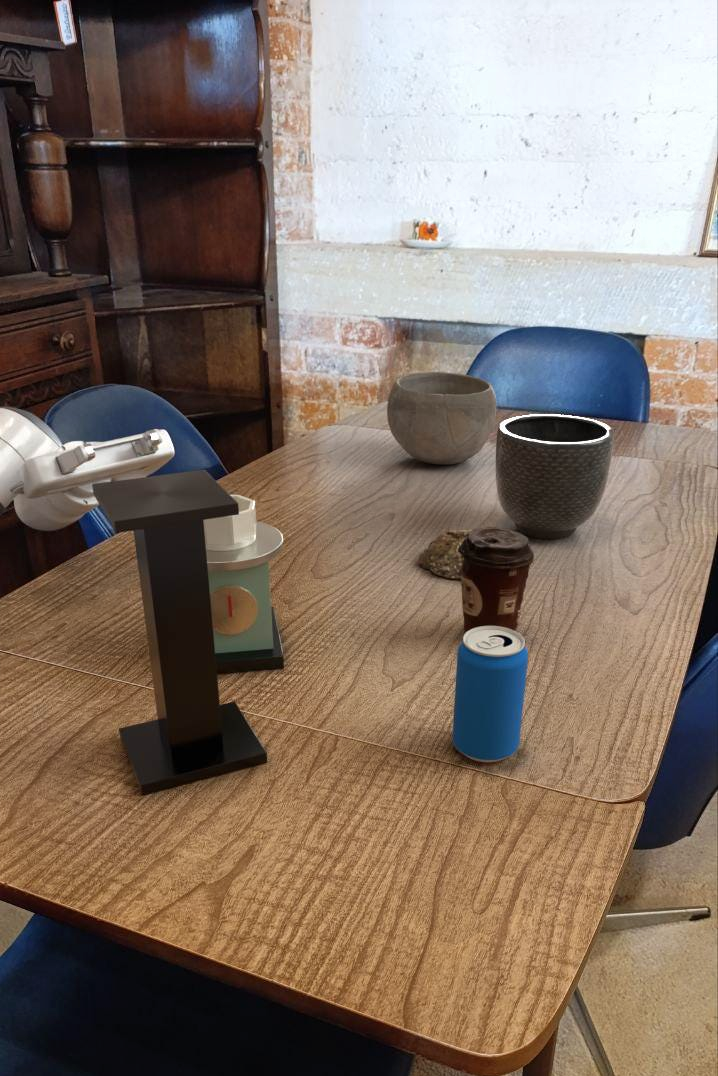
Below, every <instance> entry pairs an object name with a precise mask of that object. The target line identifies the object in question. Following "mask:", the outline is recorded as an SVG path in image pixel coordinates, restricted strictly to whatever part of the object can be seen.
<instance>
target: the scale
mask: <svg viewBox="0 0 718 1076" xmlns="http://www.w3.org/2000/svg"><path fill="white" fill-rule="evenodd" d="M256 526H257V528H256V540H255V541H254V542H253V543H252V544H251V545H249V546H246V547H244V548H240V549H236V550H230V551H211V550H206V555H207V566H208V577H209V589H210V600H211V612H212V623H213V634H214V646H215V657H216V668H217V675H220V674H221V675H222V674H233V673H245V672H256V671H257V672H259V671H269V670H281V669H285V659H284V652H283V647H282V642H281V637H280V636H281V635H280V631H279V625H278V621H277V615H276V611H275V607H274V606H272V601H271V599H272V598H271V581H270V580H271V579H270V578H271V577H270V564H269V563H270V561H272V560H274V559H275V558H277V557H278V556H279V555H280V554H281V553H282V551H283V549H284V536H283V534H282V532H281V531H280V530H279V529H277V527H274V526H273V525H270V524H268V523H265V522H262V521H257V520H256Z"/></svg>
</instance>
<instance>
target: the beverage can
mask: <svg viewBox="0 0 718 1076" xmlns="http://www.w3.org/2000/svg"><path fill="white" fill-rule="evenodd" d="M525 644H526V641H525V638H524V637H523V636H522V634H521V633H519V632H517V630H515V631H514V630H511V629H508V628H504V627H499V626H482V627H477V628H473V629H471V630H469V631H468V632H466V633H465V635H463V638H462V641H461V642H460V643H459V645H458V647H457V653H456V654H457V656H456V670H455V671H456V672H455V687H454V701H453V702H454V704H453V719H452V720H453V721H452V737H451V739H452V744H453V746H454V747H455V749H456V750H457V751H458V752H459V753H461V754H462V755H464V756H465V757H467V758H468V759H470V760H473V761H476V762H478V763H479V762H480V763H496V762H500V761H503V760H505V759H508V758H509V757H512V756H513V755H514V754H515V753H516V752H517V750H518V749H519V746H520V740H521V730H522V722H523V721H522V719H523V710H524V701H525V691H526V683H527V682H526V681H527V671H528V662H529V652H528V649H527V647H526V645H525Z"/></svg>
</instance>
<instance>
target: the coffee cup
mask: <svg viewBox="0 0 718 1076" xmlns="http://www.w3.org/2000/svg"><path fill="white" fill-rule="evenodd" d="M471 530H472V531H470V532H469V533H467V534H468V536H466V537H465V539H464V541H463V542H462V543H461V545H460V546H459V547H458V552H459V553H461V554H462V556H463V557H464V559H463V564H462V568H461V580H460V582H461V583H460V584H461V606H462V608H461V609H462V613H463V614H462V615H463V634H464V635H465V633H466V632H468V631H469V630H471V629H473V628H477V627H482V626H499V627H504V628H508V629H511V630H514V631H517V628H518V625H519V622H520V617H521V612H522V603H523V600H524V592H525V590H526V587H527V581H528V580H527V579H528V577H529V571H530V568H531V567H530V566H531V565H532V564H533V563H534V559H535V555H534V551H533V549H532V547H531V546H530V540H529V538H528V536H526V535H525V534H523V533H521V532H519V531H518V532H517V531H513V530H510V529H508V528H505V527H500V526H483V527H481V526H480V527H476V528H472V529H471ZM464 635H463V636H464Z"/></svg>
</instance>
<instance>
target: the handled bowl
mask: <svg viewBox="0 0 718 1076" xmlns="http://www.w3.org/2000/svg"><path fill="white" fill-rule="evenodd" d="M229 495H230V496H231V497H232V498H233V499H234V500H235V501H236V502H237V503H238V507H239V515H232V516H226V517H219V518H213V519H206V520H203V521H204V532H205V543H206V550H211V551H230V550H236V549H240V548H244V547H246V546H249V545H251V544H252V543H253V542H254V541H255V540H256V528H257V526H256V521H257V512H256V500H254V499H252V498H249V497H245V496H243V495H240V494H229Z"/></svg>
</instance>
